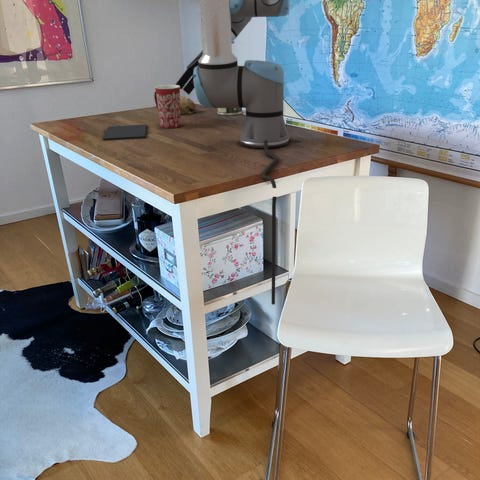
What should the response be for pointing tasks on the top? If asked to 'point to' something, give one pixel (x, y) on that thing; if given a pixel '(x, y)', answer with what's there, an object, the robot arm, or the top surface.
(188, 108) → the bread roll
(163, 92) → the mug
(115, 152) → the top surface
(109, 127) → the mat
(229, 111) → the coffee can
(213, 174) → the top surface
